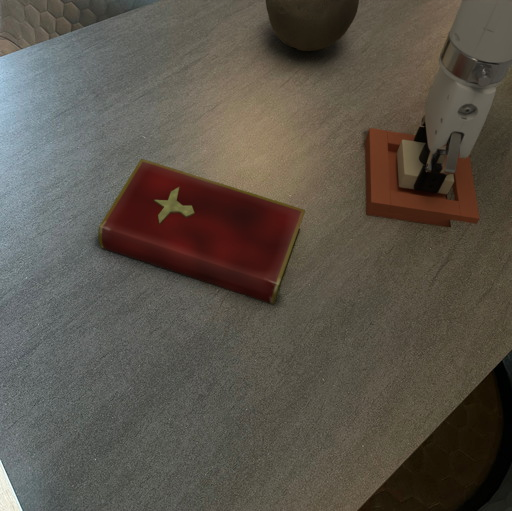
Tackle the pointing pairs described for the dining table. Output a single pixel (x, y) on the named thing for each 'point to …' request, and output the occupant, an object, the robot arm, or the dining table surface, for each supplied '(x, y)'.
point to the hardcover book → (203, 230)
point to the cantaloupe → (311, 21)
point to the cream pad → (417, 164)
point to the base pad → (409, 200)
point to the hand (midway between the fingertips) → (423, 169)
